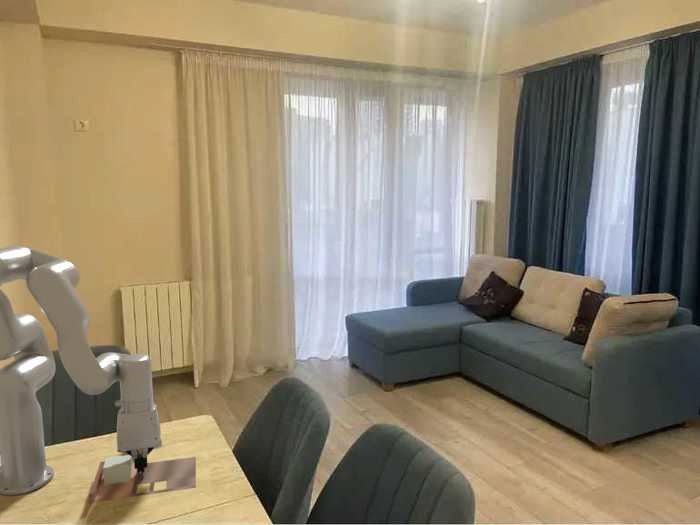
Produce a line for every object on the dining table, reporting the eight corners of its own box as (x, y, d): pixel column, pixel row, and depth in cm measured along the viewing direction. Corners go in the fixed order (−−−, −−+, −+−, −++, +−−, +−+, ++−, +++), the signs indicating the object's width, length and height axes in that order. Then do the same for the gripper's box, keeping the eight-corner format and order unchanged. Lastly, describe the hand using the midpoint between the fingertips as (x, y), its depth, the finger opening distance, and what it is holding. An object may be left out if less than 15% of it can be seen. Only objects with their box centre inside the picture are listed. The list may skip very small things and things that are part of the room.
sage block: (104, 484, 129) (103, 467, 128) (107, 473, 134) (106, 457, 133) (130, 481, 131) (129, 464, 130) (132, 470, 136) (131, 454, 135)
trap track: (90, 508, 122) (89, 494, 122) (101, 474, 136) (100, 462, 136) (196, 492, 129) (195, 479, 128) (195, 461, 143) (195, 450, 143)
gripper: (102, 413, 126) (107, 482, 128) (167, 406, 130) (171, 473, 133) (107, 400, 133) (112, 467, 136) (169, 394, 137) (172, 458, 140)
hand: (141, 470), depth 134 cm, fingers closed
